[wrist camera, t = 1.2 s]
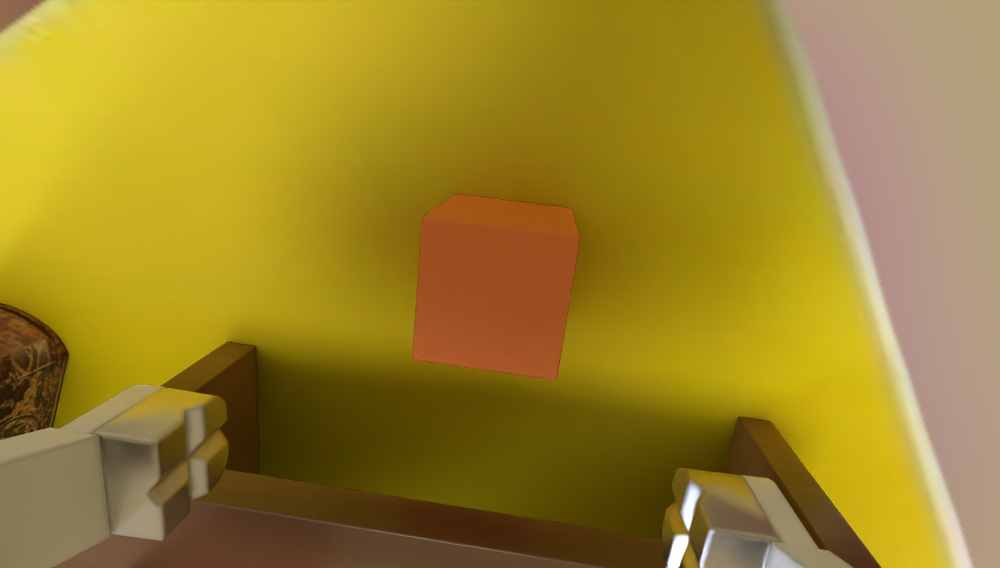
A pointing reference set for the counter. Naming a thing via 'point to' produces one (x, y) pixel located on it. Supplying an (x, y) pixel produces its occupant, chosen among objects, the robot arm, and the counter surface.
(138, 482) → the robot arm
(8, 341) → the book
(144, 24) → the counter surface
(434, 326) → the orange box
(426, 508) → the shelf
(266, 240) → the counter surface
